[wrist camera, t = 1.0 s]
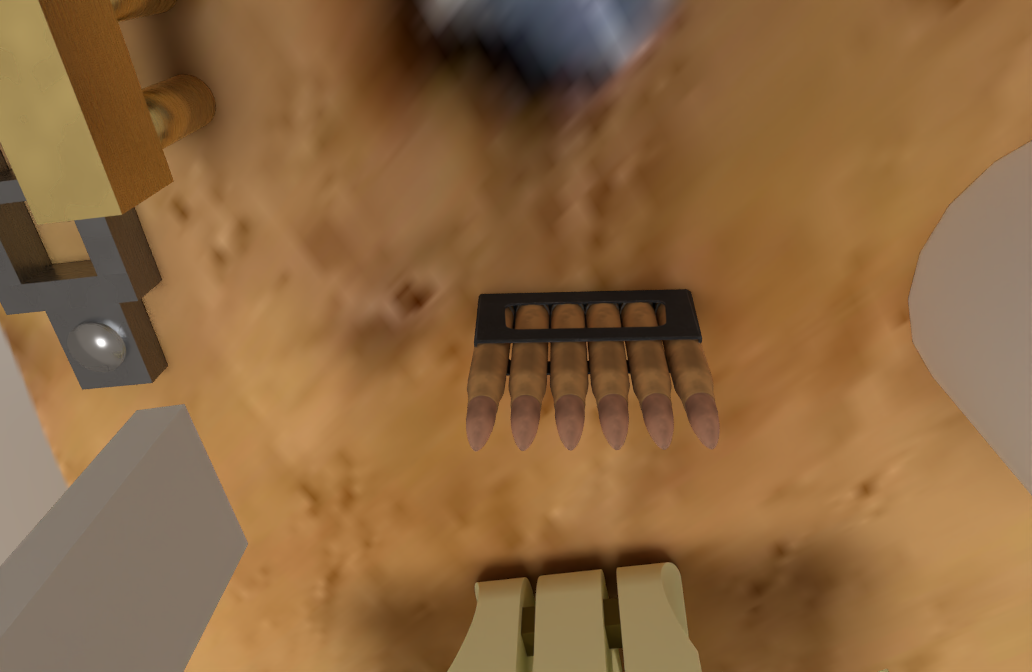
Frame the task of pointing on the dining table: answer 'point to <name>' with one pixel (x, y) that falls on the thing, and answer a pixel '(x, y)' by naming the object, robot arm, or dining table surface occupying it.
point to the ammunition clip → (590, 363)
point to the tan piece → (87, 108)
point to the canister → (983, 307)
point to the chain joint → (84, 291)
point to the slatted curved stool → (581, 624)
